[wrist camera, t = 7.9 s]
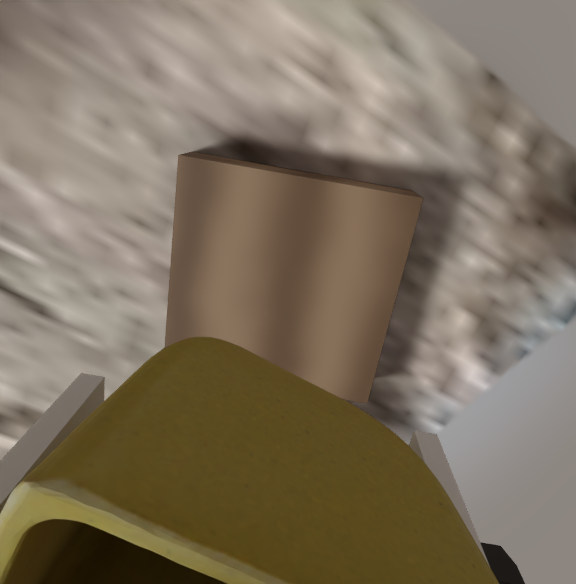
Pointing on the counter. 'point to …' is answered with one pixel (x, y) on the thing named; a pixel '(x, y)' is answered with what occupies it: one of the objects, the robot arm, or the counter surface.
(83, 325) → the counter surface
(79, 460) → the flower pot
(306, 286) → the brown curved panel
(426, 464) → the robot arm
